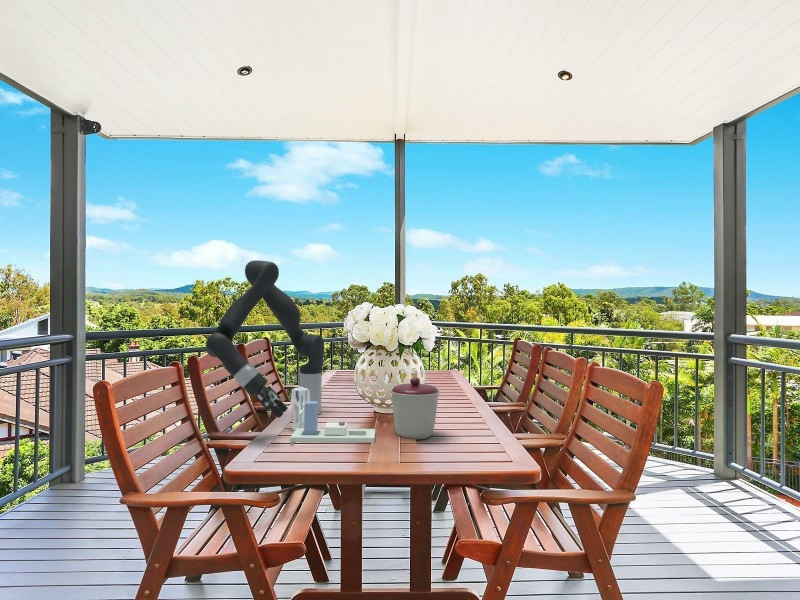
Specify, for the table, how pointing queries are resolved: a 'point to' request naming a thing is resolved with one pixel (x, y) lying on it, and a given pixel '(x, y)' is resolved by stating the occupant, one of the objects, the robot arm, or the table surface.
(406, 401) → the canister
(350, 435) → the board
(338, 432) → the lid
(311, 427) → the peg
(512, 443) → the table surface
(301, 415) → the beer glass
